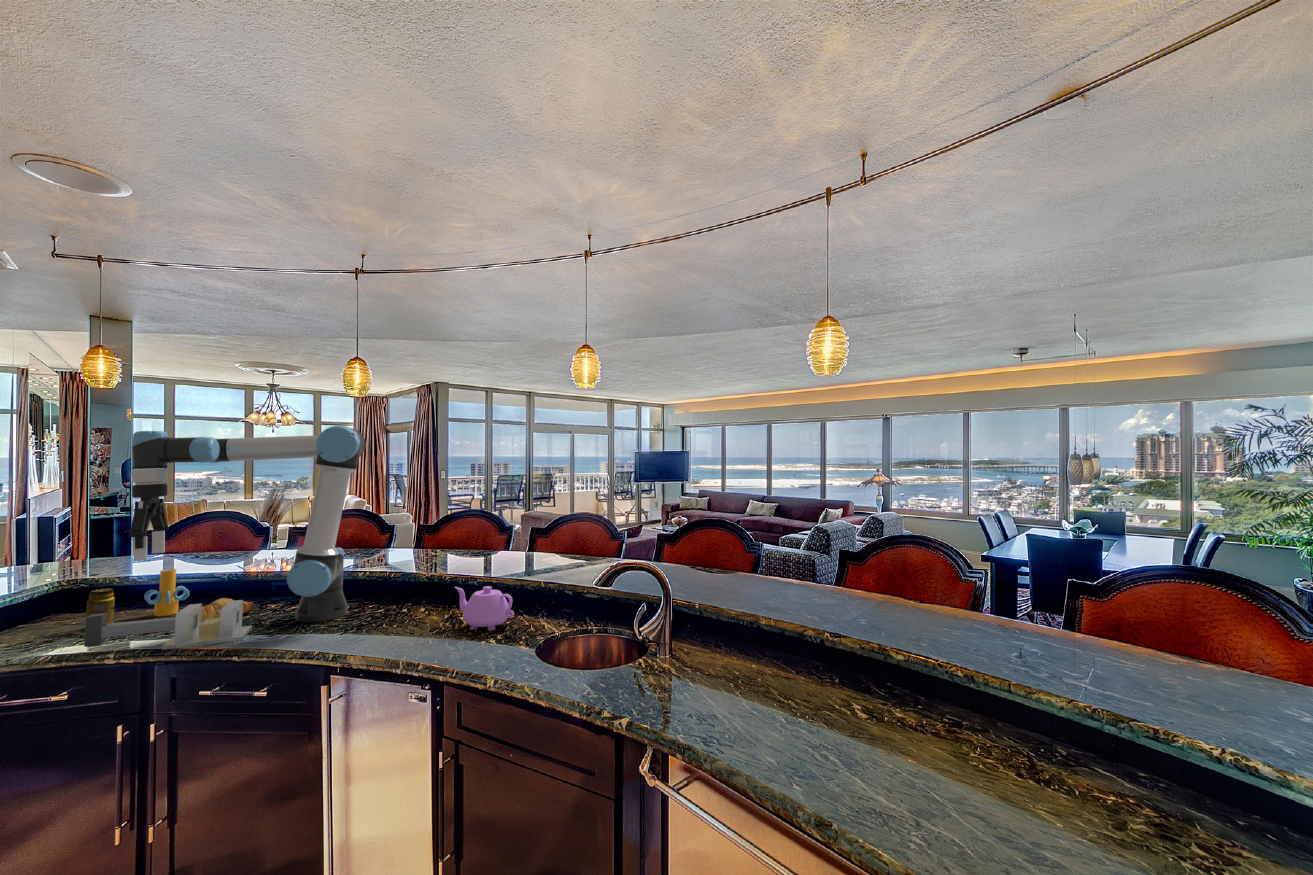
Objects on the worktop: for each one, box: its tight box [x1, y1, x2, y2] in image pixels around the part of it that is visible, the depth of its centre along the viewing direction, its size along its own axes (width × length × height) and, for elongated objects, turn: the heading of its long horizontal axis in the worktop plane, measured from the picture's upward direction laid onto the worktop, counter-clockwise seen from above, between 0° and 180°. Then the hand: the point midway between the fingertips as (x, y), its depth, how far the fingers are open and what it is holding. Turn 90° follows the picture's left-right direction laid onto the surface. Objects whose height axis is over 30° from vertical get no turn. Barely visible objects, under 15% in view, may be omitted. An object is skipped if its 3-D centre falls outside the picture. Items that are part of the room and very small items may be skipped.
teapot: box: [454, 585, 515, 632], centre depth 171 cm, size 20×14×12 cm
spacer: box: [199, 618, 220, 639], centre depth 157 cm, size 4×6×4 cm
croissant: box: [201, 597, 255, 623], centre depth 177 cm, size 21×10×8 cm, turn 158°
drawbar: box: [83, 613, 196, 648], centre depth 150 cm, size 23×3×8 cm, turn 116°
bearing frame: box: [161, 599, 253, 651], centre depth 157 cm, size 18×12×9 cm, turn 116°
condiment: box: [72, 588, 116, 635], centre depth 165 cm, size 7×8×12 cm
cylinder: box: [143, 568, 190, 617], centre depth 182 cm, size 12×10×15 cm
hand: (149, 556), depth 154 cm, fingers open, 13 cm apart
